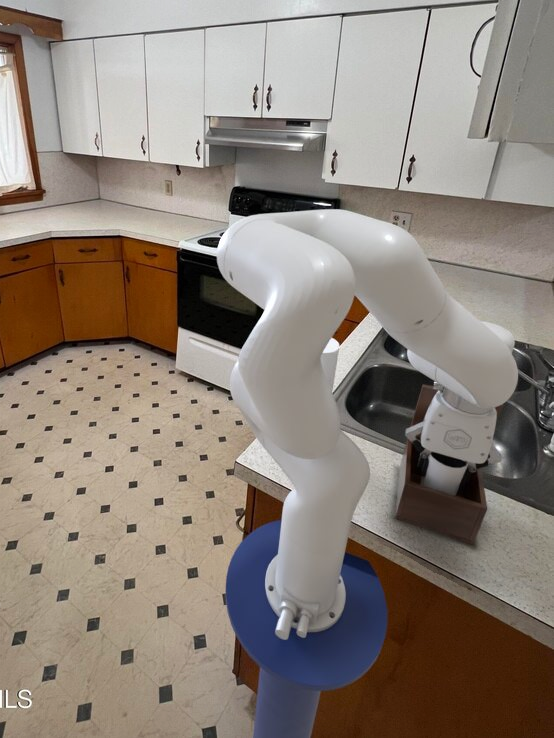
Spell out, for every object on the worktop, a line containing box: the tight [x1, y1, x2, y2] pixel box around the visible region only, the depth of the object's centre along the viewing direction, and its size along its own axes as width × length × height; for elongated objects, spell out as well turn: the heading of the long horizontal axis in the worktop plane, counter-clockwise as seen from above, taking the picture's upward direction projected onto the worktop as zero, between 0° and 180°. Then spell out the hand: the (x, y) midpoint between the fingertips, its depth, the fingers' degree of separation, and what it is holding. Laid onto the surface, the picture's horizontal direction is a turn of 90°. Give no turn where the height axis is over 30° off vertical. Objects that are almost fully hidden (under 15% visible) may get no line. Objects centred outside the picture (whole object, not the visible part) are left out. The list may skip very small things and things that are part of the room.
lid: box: [410, 383, 504, 439], centre depth 79 cm, size 13×13×6 cm
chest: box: [394, 437, 488, 545], centre depth 78 cm, size 13×13×9 cm
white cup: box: [420, 452, 468, 496], centre depth 77 cm, size 7×7×10 cm
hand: (441, 475), depth 77 cm, fingers closed on white cup, 5 cm apart
